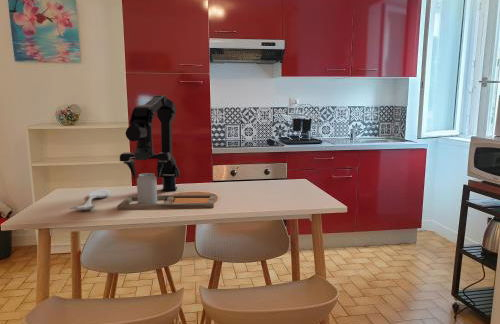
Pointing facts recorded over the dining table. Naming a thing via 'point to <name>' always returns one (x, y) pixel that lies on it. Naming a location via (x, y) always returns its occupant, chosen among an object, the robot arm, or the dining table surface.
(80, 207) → the spoon
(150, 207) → the ladder rack
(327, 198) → the dining table surface
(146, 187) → the can
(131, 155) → the robot arm
